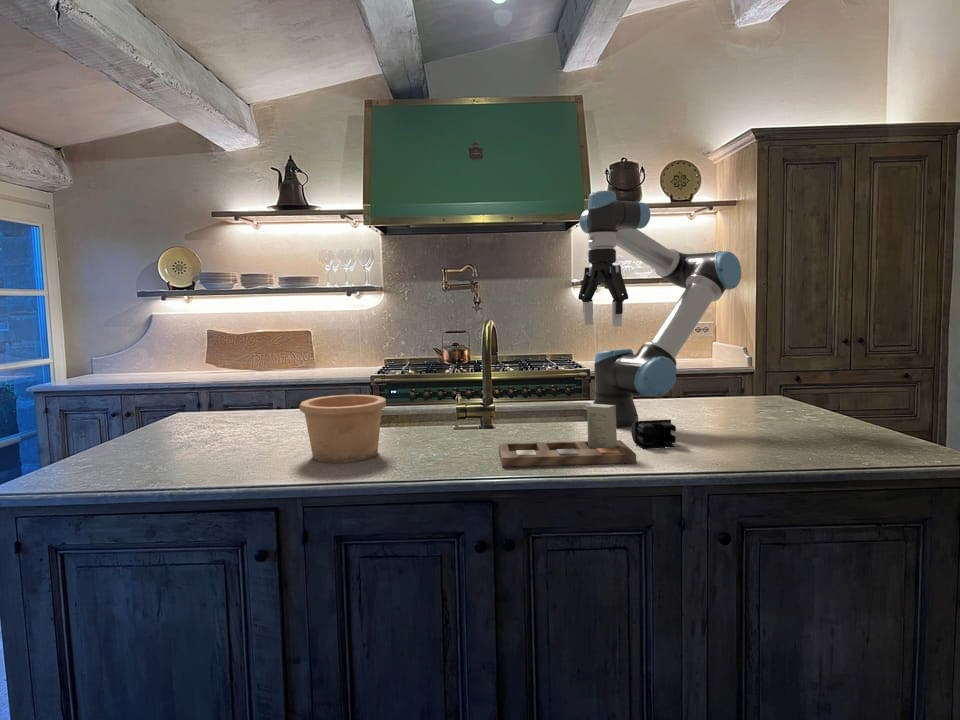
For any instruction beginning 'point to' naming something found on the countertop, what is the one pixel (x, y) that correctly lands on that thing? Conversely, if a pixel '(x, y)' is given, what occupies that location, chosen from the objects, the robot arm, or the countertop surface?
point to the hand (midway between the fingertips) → (602, 325)
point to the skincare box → (601, 426)
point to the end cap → (653, 433)
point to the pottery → (343, 427)
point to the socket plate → (563, 454)
